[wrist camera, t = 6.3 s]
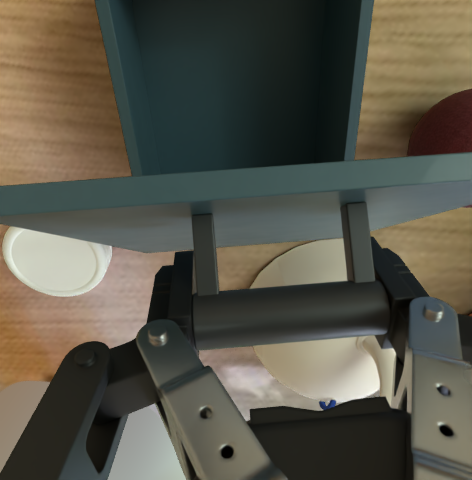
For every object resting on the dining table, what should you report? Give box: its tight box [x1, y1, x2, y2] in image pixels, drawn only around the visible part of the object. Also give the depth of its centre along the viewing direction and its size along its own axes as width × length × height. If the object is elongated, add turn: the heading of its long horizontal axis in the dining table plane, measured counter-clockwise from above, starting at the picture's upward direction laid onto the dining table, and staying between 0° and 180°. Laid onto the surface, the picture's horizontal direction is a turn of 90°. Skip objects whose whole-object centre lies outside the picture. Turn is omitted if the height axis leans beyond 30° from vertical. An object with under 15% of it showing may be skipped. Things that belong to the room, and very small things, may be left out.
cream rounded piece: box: [249, 239, 396, 410], centre depth 39 cm, size 20×21×18 cm
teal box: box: [95, 0, 374, 176], centre depth 29 cm, size 20×17×9 cm
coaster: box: [2, 226, 112, 297], centre depth 38 cm, size 10×10×4 cm
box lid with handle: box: [0, 152, 472, 351], centre depth 20 cm, size 20×17×5 cm
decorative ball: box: [407, 89, 472, 208], centre depth 32 cm, size 10×10×10 cm
